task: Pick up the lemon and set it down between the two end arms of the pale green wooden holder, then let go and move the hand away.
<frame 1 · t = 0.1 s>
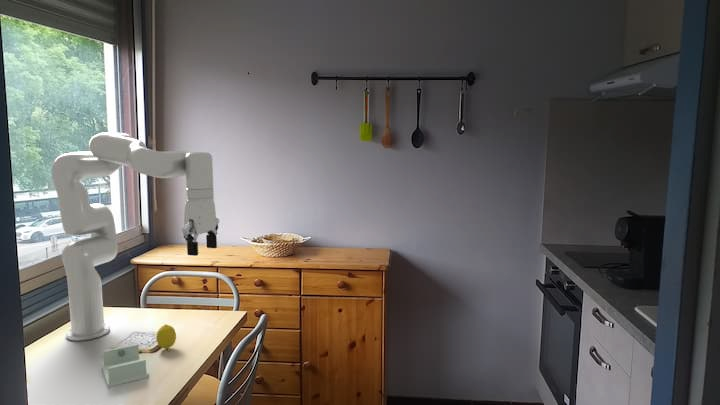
hand: (202, 251, 142), 31 cm above the table, tool pointing down, fingers open, 9 cm apart
holder: (124, 372, 132), on the table
lemon: (167, 350, 147), on the table
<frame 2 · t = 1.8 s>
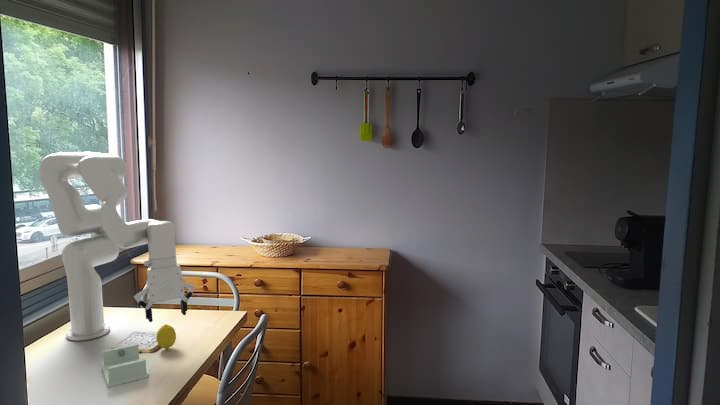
hand: (167, 317, 145), 10 cm above the table, tool pointing down, fingers open, 9 cm apart
nothing on the table moved.
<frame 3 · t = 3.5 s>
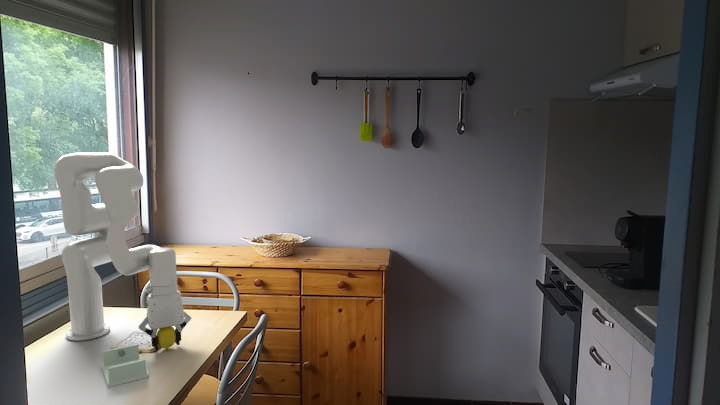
hand: (166, 345, 147), 1 cm above the table, tool pointing down, fingers closed on lemon, 5 cm apart
lemon: (167, 350, 147), on the table, touching gripper
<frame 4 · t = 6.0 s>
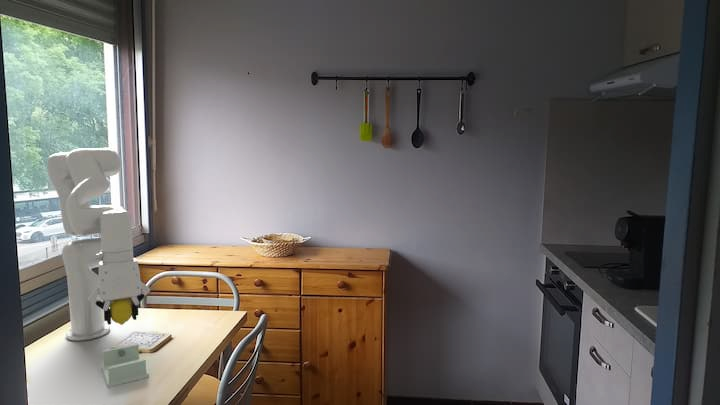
hand: (121, 320, 130), 15 cm above the table, tool pointing down, fingers closed on lemon, 5 cm apart
lemon: (122, 325, 130), point 14 cm above the table, touching gripper
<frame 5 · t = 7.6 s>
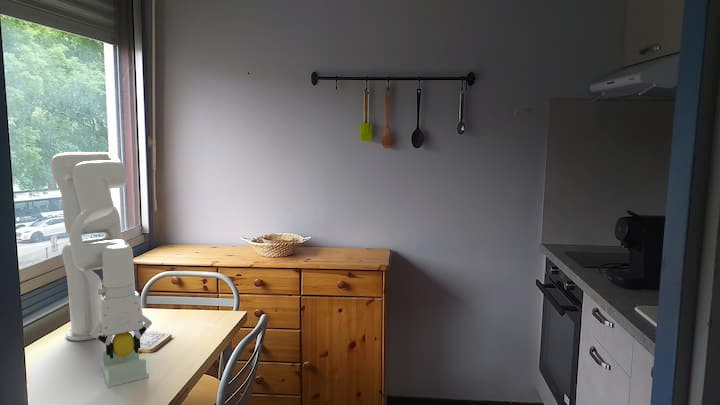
hand: (123, 353, 131), 6 cm above the table, tool pointing down, fingers closed on lemon, 5 cm apart
lemon: (124, 358, 132), point 4 cm above the table, touching gripper
when the fingers open (4 cm above the table, at t = 8.7 s): lemon drops 2 cm, resting on holder.
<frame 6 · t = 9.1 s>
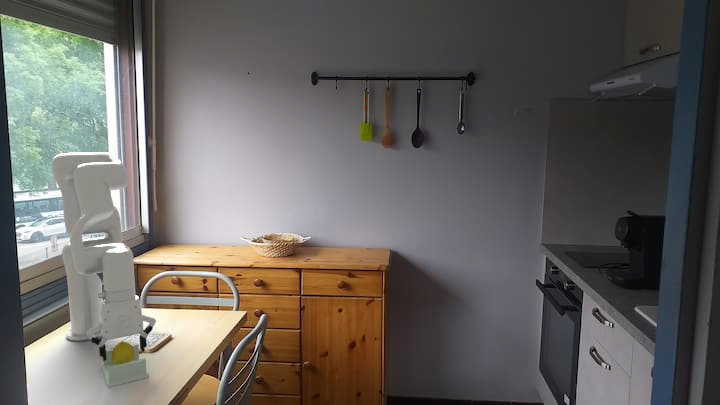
hand: (123, 354, 131), 5 cm above the table, tool pointing down, fingers open, 9 cm apart
lemon: (123, 369, 132), point 1 cm above the table, touching holder
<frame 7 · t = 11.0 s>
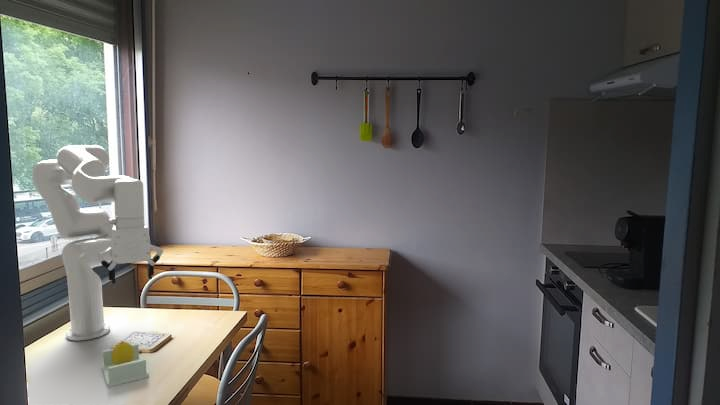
hand: (131, 279, 139), 23 cm above the table, tool pointing down, fingers open, 9 cm apart
nothing on the table moved.
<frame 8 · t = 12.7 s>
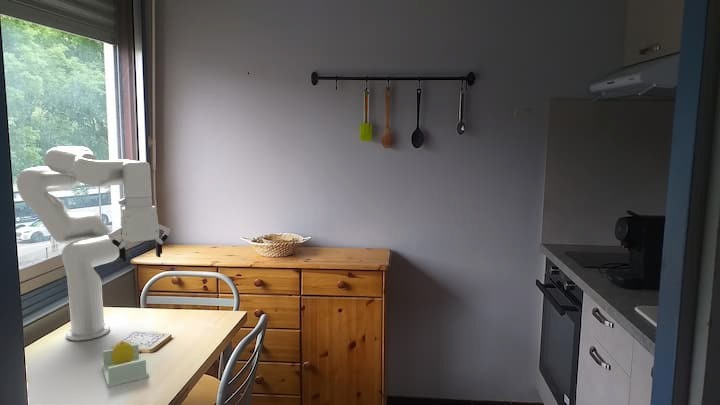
hand: (141, 258, 144), 28 cm above the table, tool pointing down, fingers open, 9 cm apart
nothing on the table moved.
at the end: lemon inside the target area on the holder (0.2 cm from its centre), point 0.8 cm above the holder's base; the gripper is holding nothing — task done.
